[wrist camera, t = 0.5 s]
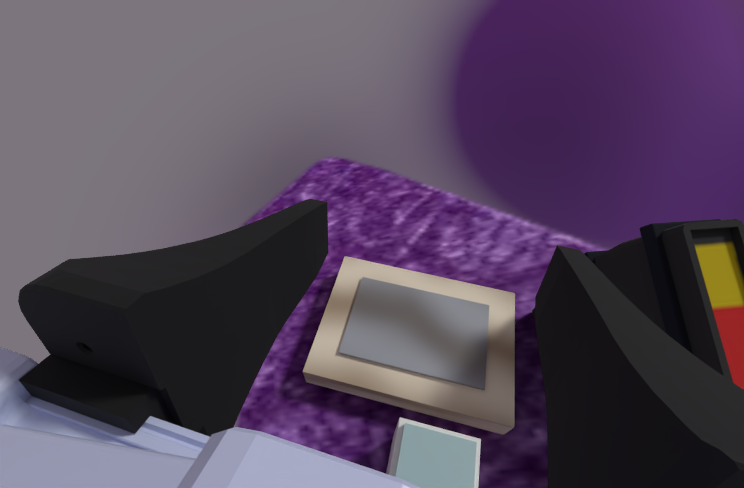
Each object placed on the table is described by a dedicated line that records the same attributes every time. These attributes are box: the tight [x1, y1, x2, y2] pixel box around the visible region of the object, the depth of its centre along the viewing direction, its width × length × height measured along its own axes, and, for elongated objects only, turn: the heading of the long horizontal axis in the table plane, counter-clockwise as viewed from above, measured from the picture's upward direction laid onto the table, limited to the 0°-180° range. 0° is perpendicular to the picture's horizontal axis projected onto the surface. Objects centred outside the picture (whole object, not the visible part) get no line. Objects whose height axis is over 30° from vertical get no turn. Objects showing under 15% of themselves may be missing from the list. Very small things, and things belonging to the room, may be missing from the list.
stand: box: [303, 256, 515, 435], centre depth 28 cm, size 10×14×2 cm
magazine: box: [532, 219, 744, 390], centre depth 23 cm, size 4×13×15 cm, turn 6°
